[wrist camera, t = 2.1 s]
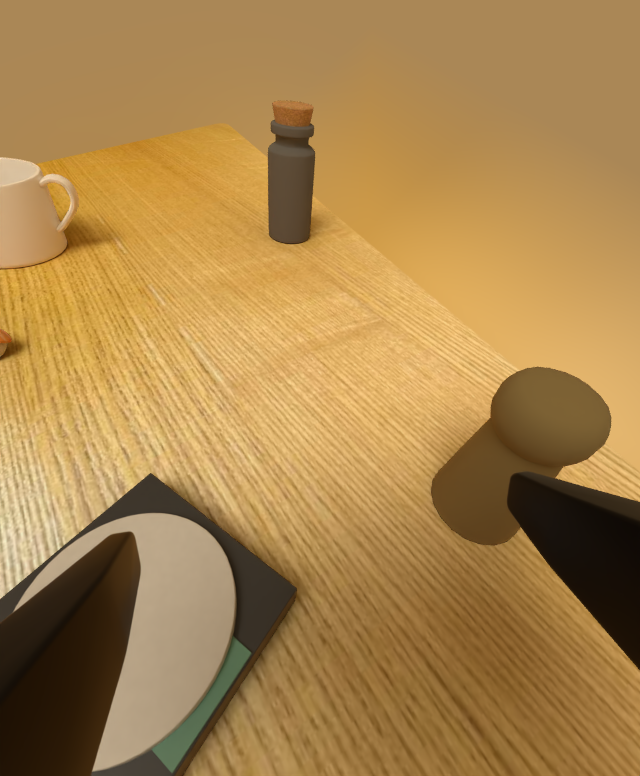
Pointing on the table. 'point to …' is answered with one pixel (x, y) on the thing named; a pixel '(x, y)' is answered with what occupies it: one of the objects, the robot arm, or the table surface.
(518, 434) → the brown chess pawn
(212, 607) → the scale
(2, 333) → the sushi
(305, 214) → the bottle
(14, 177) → the mug
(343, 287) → the table surface
